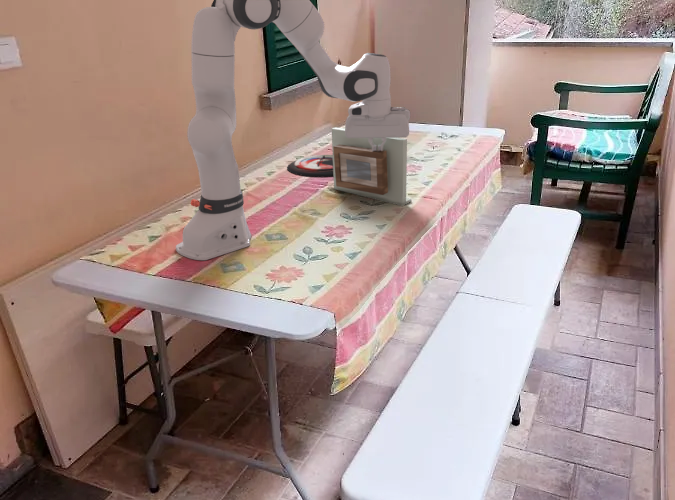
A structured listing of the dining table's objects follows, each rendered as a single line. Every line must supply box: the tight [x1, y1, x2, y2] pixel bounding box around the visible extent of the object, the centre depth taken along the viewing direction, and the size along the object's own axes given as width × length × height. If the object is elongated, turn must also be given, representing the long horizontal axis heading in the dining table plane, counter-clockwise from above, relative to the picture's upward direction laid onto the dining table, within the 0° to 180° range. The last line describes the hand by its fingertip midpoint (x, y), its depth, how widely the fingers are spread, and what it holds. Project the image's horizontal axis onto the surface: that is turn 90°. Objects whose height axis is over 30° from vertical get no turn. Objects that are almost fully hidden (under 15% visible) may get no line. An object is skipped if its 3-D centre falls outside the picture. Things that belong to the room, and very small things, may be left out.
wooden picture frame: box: [333, 144, 388, 195], centre depth 196 cm, size 3×20×14 cm, turn 49°
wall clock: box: [286, 154, 334, 178], centre depth 236 cm, size 26×5×30 cm
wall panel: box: [331, 127, 412, 207], centre depth 199 cm, size 8×30×22 cm, turn 49°
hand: (377, 151), depth 188 cm, fingers closed, pressing on wooden picture frame
